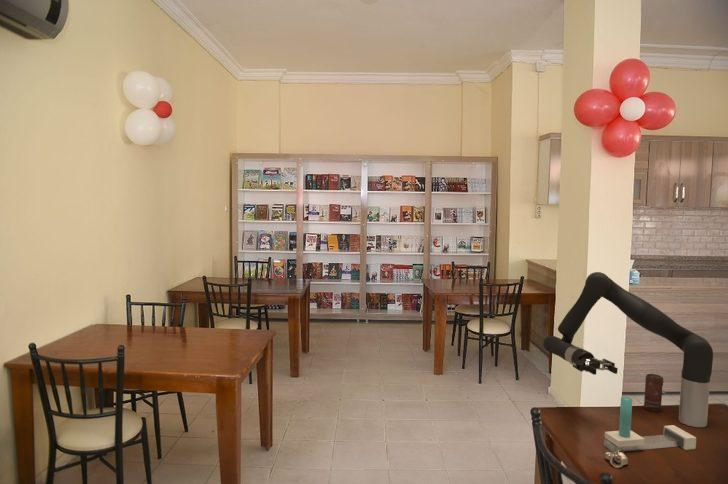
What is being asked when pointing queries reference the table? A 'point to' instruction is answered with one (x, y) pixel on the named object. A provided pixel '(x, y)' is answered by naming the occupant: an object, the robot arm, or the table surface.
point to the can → (653, 392)
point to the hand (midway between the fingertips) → (606, 371)
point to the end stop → (681, 437)
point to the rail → (646, 443)
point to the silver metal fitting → (617, 458)
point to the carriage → (625, 427)
